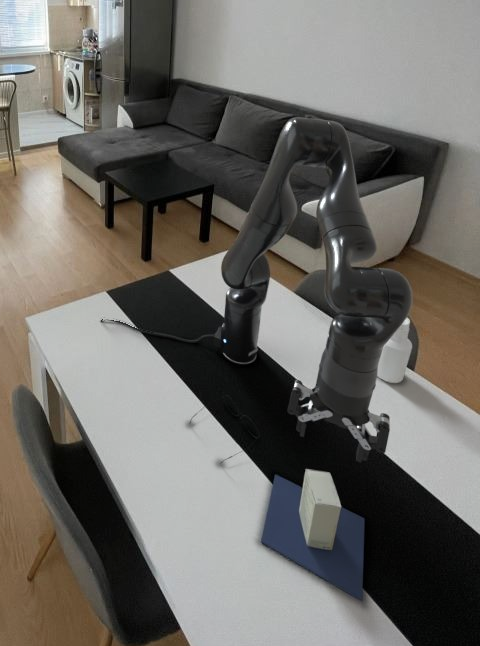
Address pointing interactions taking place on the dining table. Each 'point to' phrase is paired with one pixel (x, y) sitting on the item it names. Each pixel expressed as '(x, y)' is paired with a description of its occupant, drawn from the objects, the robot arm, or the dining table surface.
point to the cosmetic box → (319, 509)
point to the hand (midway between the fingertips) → (329, 444)
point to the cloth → (330, 565)
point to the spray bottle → (395, 355)
